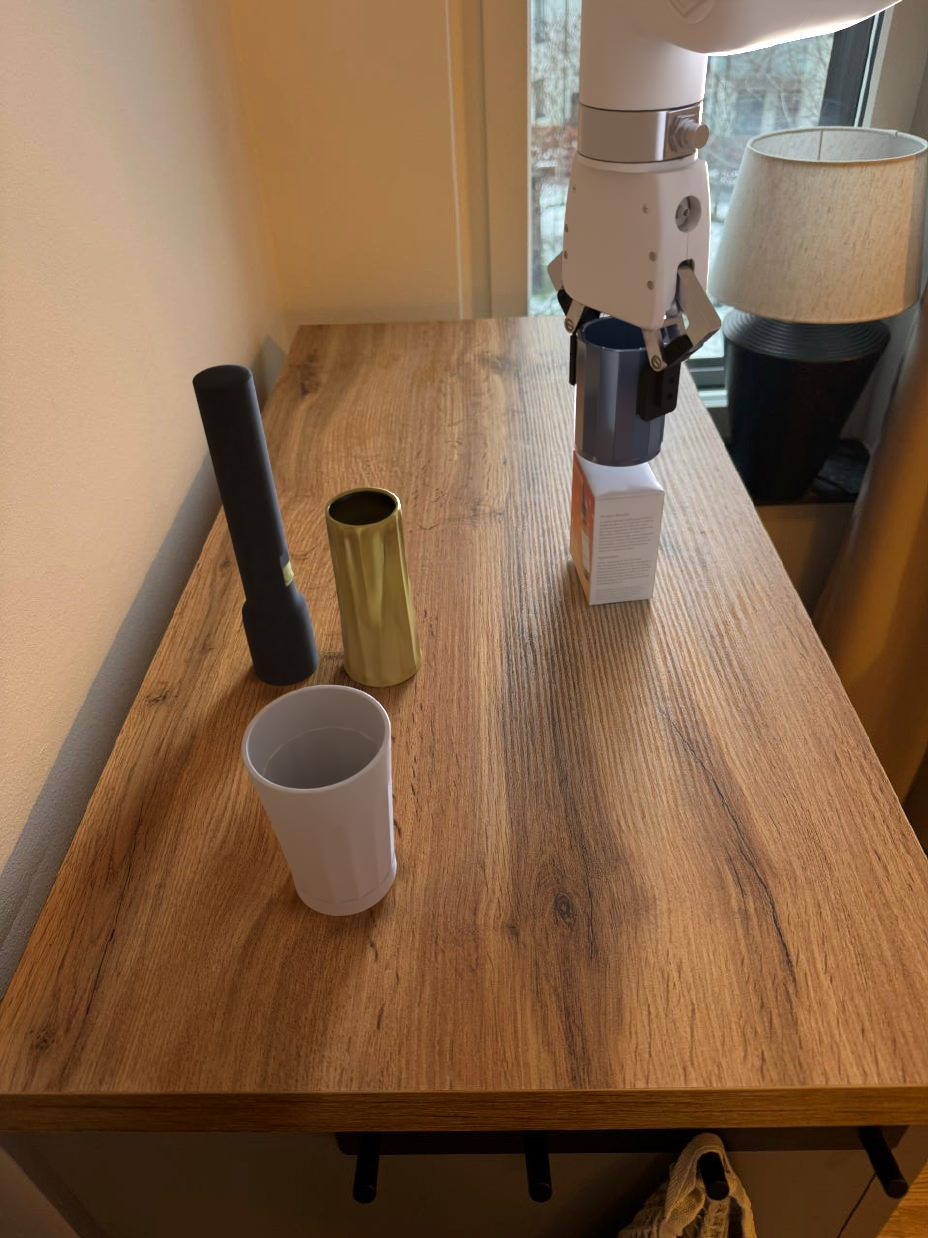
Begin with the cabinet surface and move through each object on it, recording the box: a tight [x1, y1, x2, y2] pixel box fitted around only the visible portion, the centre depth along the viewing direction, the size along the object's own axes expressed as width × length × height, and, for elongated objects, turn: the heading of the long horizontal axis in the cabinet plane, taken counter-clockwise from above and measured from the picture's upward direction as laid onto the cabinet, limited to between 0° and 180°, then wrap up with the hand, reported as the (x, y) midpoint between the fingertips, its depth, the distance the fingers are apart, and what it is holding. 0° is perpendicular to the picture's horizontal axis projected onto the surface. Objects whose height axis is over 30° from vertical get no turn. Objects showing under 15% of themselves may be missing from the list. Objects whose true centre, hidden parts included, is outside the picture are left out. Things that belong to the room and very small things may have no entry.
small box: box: [568, 449, 666, 606], centre depth 76 cm, size 8×6×10 cm
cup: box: [240, 684, 398, 917], centre depth 53 cm, size 8×8×12 cm
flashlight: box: [191, 363, 320, 687], centre depth 64 cm, size 5×24×5 cm
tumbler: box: [573, 315, 670, 467], centre depth 68 cm, size 7×7×9 cm
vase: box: [324, 486, 423, 688], centre depth 67 cm, size 6×6×14 cm
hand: (621, 395), depth 68 cm, fingers closed on tumbler, 6 cm apart
